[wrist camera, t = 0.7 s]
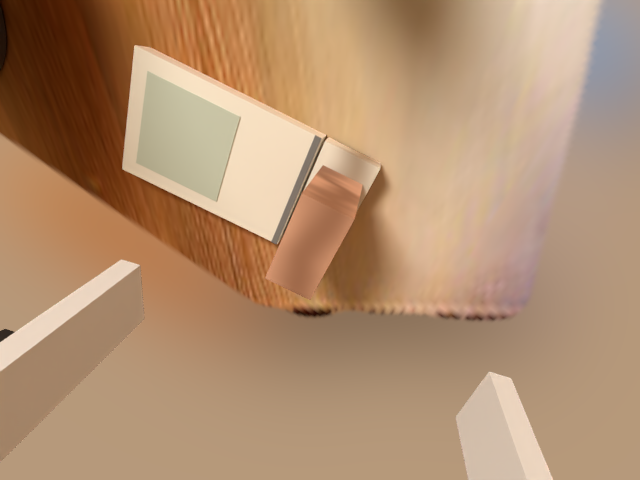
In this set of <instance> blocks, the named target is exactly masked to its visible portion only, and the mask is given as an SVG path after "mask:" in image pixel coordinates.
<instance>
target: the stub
mask: <svg viewBox="0 0 640 480" xmlns="http://www.w3.org/2000/svg"><path fill="white" fill-rule="evenodd" d="M380 169H381V163H380V162H378V161H376V160H374V159H372V158H370V157H368V156H366V155H364V154H362V153H360V152H358V151H356V150H354V149H352V148H350V147H348V146H346V145H344V144H342V143H340V142H338V141H336V140H334V139H332V138H330V137H328V138H327V139H326V140H325V142H324V144H323V147H322V149H321V151H320V154H319V156H318V158H317V161H316V163H315V165H314V168H313V170H312V172H311V174H310V177H309V179H308V181H307V184H306V186H305V188H304V191H303V192H302V194H301V196H300V198H299V201H298V203H297V205H296V208H295V210H294V212H293V215H292V217H291V219H290V222H289V224H288V226H287V229H286V231H285V233H284V235H283V238H282V240H281V242H280V245H279V247H278V249H277V252H276V254H275V256H274V259H273V261H272V263H271V266H270V268H269V270H268V273H267V275H266V277H265V279H267V280H270V281H272V282H274V283H276V284H278V285H280V286H282V287H284V288H286V289H288V290H290V291H292V292H295V293H297V294H299V295H301V296H303V297H305V298H307V299H309V300H310V299H311V297H312V295H313V293H314V292H315V290H316V288H317V286H318V284H319V283H320V281H321V279H322V277H323V275H324V274H325V272H326V270H327V268H328V266H329V265H330V263H331V261H332V259H333V257H334V255H335V254H336V252H337V250H338V248H339V246H340V245H341V243H342V241H343V239H344V237H345V236H346V234H347V232H348V230H349V228H350V227H351V225H352V223H353V221H354V219H355V215H356V212H357V210H358V209H359V207H360V205H361V203H362V201H363V199H364V198H365V196H366V194H367V192H368V190H369V189H370V187H371V185H372V183H373V181H374V179H375V178H376V176H377V174H378V172H379V170H380Z"/></svg>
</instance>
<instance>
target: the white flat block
mask: <svg viewBox="0 0 640 480" xmlns="http://www.w3.org/2000/svg"><path fill="white" fill-rule="evenodd" d="M325 137H326V135H325V134H323V133H321V132H319V131H317V130H315V129H313V128H311V127H309V126H307V125H305V124H303V123H301V122H299V121H297V120H295V119H293V118H291V117H289V116H287V115H285V114H283V113H281V112H279V111H277V110H275V109H273V108H271V107H269V106H267V105H265V104H263V103H261V102H259V101H257V100H255V99H253V98H251V97H249V96H247V95H245V94H243V93H241V92H239V91H237V90H235V89H233V88H231V87H229V86H227V85H225V84H223V83H221V82H219V81H217V80H215V79H213V78H211V77H209V76H207V75H205V74H203V73H201V72H199V71H197V70H195V69H193V68H191V67H189V66H187V65H185V64H183V63H181V62H179V61H177V60H175V59H173V58H171V57H169V56H167V55H165V54H163V53H161V52H159V51H157V50H155V49H153V48H151V47H145V46H138V45H134V55H133V65H132V75H131V85H130V95H129V105H128V115H127V125H126V135H125V145H124V155H123V165H122V169H123V170H125V171H127V172H129V173H131V174H133V175H135V176H137V177H139V178H141V179H143V180H145V181H148V182H150V183H152V184H154V185H156V186H158V187H160V188H162V189H164V190H166V191H168V192H170V193H172V194H174V195H176V196H179V197H181V198H183V199H185V200H187V201H189V202H191V203H193V204H195V205H197V206H199V207H201V208H203V209H205V210H207V211H209V212H212V213H214V214H216V215H218V216H220V217H222V218H224V219H226V220H228V221H230V222H232V223H234V224H236V225H238V226H240V227H242V228H245V229H247V230H249V231H251V232H253V233H255V234H257V235H259V236H261V237H263V238H265V239H267V240H269V241H271V242H272V243H274V244H278V243H279V241H280V240H281V238H282V237H283V235H284V233H285V230H286V228H287V226H288V223H289V221H290V219H291V216H292V214H293V212H294V209H295V207H296V205H297V202H298V200H299V198H300V195H301V193H302V191H303V189H304V186H305V184H306V182H307V179H308V177H309V175H310V172H311V170H312V168H313V165H314V163H315V161H316V158H317V156H318V154H319V151H320V149H321V147H322V144H323V142H324V140H325Z"/></svg>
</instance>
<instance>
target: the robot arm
mask: <svg viewBox="0 0 640 480" xmlns="http://www.w3.org/2000/svg"><path fill="white" fill-rule="evenodd" d="M5 54H6V30H5V24H4V19H3V14H2V10H1V7H0V70H1V68H2V65H3V63H4V59H5ZM143 320H144V308H143V295H142V281H141V269H140V265H138V264H135V263H131V262H128V261H125V260H120V261H118V262H117V263H116V264H114V265H112V266H111V267H110V268H108V269H107V270H105V271H104V272H102V273H101V274H99V275H98V276H96V277H95V278H93V279H92V280H91V281H89V282H88V283H86V284H85V285H83V286H82V287H80V288H79V289H78V290H76V291H74V292H73V293H72V294H70V295H69V296H67V297H66V298H64V299H63V300H61V301H60V302H58V303H57V304H55V305H54V306H53V307H51V308H50V309H48V310H47V311H45V312H44V313H43V314H41V315H39V316H38V317H37V318H35V319H34V320H32V321H31V322H29V323H28V324H26V325H25V326H24V327H22V328H20V329H19V330H17V331H16V332H13V331H10V330H7V329H4V330H2V331H0V462H1V461H2V460H3V459H4V458H5V457H6V456H7V455H8V454H9V453H10V452H11V451H12V450H13V449H14V448H15V447H16V446H17V445H18V444H19V443H20V442H21V441H22V440H23V439H24V438H25V437H26V436H27V435H28V434H29V433H30V432H31V431H32V430H33V429H34V428H35V427H36V426H37V425H38V424H39V423H40V422H41V421H42V420H43V419H44V418H45V417H46V416H47V415H48V414H49V413H50V412H51V411H52V410H53V409H54V408H55V407H56V406H57V405H58V404H59V403H60V402H61V401H62V400H63V399H64V398H65V397H66V396H67V395H68V394H69V393H70V392H71V391H72V390H73V389H74V388H75V387H76V386H77V385H78V384H79V383H80V382H81V381H82V380H83V379H84V378H85V377H86V376H88V374H90V372H92V371H93V370H94V369H95V367H97V366H98V364H100V362H102V361H103V360H104V359H105V358H106V357H107V356H108V355H109V354H110V352H112V351H113V350H114V348H116V347H117V346H118V345H119V344H120V343H121V342H122V341H123V340H124V339H125V338H126V337H127V335H129V334H130V333H131V332H132V331H133V330H134V329H135V328H136V327H137V326H138V325H139V324H140V323H141V322H142V321H143ZM456 422H457V426H458V432H459V436H460V442H461V446H462V451H463V456H464V461H465V466H466V471H467V476H468V480H553V478H552V476H551V474H550V471H549V469H548V467H547V464H546V462H545V459H544V457H543V454H542V452H541V449H540V447H539V445H538V442H537V440H536V437H535V435H534V432H533V430H532V428H531V425H530V423H529V421H528V418H527V416H526V413H525V411H524V408H523V406H522V403H521V401H520V399H519V396H518V394H517V391H516V389H515V387H514V384H513V382H512V379H511V378H508V377H505V376H502V375H498V374H495V373H492V372H489V373H488V374H487V375H486V377H485V378H484V380H483V381H482V382H481V383H480V385H479V386H478V387H477V389H476V390H475V392H474V393H473V394H472V396H471V397H470V398H469V400H468V401H467V402H466V404H465V405H464V406H463V408H462V409H461V411H460V412H459V413H458V415H457V416H456Z"/></svg>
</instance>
